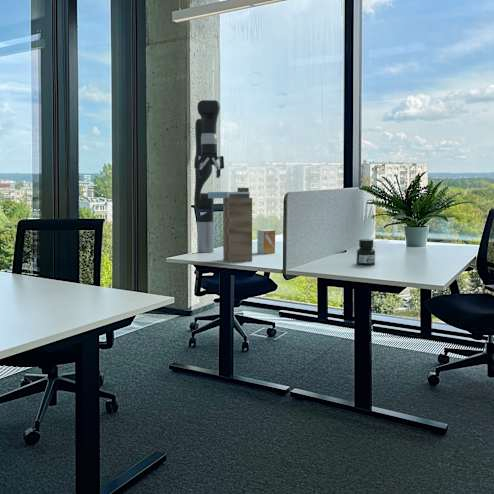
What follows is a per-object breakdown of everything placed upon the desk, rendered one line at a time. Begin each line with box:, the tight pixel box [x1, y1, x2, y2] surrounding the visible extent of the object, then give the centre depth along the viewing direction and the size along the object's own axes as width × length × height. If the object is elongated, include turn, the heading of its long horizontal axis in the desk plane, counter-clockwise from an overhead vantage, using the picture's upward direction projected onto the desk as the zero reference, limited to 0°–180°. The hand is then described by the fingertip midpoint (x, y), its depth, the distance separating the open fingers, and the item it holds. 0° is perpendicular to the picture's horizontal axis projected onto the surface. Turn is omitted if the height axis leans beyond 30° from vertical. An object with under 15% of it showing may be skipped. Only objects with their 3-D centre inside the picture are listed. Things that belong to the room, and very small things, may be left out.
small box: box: [256, 229, 276, 255], centre depth 304 cm, size 8×6×13 cm
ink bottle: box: [356, 238, 376, 266], centre depth 267 cm, size 10×9×12 cm
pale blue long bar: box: [207, 187, 251, 199], centre depth 272 cm, size 3×21×5 cm, turn 111°
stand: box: [222, 194, 253, 263], centre depth 276 cm, size 10×12×34 cm
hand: (209, 177), depth 260 cm, fingers open, 8 cm apart
